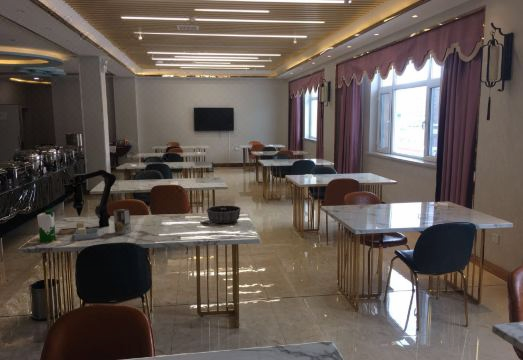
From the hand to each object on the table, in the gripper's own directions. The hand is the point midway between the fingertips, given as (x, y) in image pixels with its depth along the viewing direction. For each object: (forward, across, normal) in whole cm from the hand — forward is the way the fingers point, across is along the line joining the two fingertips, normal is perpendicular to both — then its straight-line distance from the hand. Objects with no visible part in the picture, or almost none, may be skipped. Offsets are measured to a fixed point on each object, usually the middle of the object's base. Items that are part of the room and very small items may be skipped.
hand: (79, 214), depth 306 cm
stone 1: (+12, 0, 0) cm, 12 cm away
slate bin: (+12, +16, +5) cm, 21 cm away
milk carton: (+12, +17, -19) cm, 29 cm away
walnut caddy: (+12, 0, -5) cm, 13 cm away
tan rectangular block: (+12, +16, +2) cm, 20 cm away
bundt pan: (+13, +5, +102) cm, 103 cm away
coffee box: (+13, +13, +28) cm, 33 cm away
